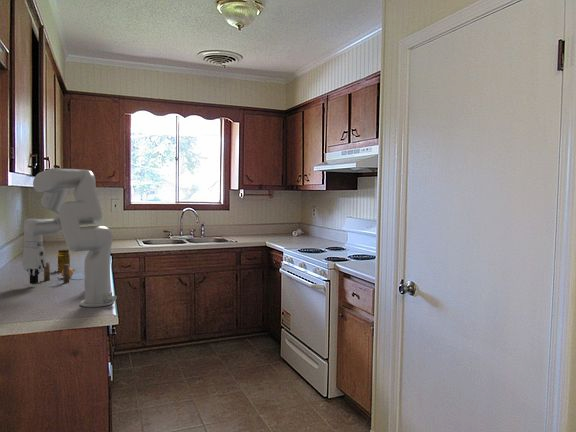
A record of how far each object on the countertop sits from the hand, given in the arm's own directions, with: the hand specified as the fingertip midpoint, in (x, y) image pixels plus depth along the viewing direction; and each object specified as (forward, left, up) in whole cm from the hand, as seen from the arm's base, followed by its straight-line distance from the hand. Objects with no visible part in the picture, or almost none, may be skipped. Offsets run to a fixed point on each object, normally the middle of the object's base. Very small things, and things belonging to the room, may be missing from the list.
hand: (34, 283), depth 209 cm
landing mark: (0, -27, -2) cm, 27 cm away
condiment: (+20, -38, -2) cm, 43 cm away
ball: (+2, -22, +1) cm, 22 cm away
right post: (-6, -13, -2) cm, 15 cm away
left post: (+6, -13, -2) cm, 15 cm away
